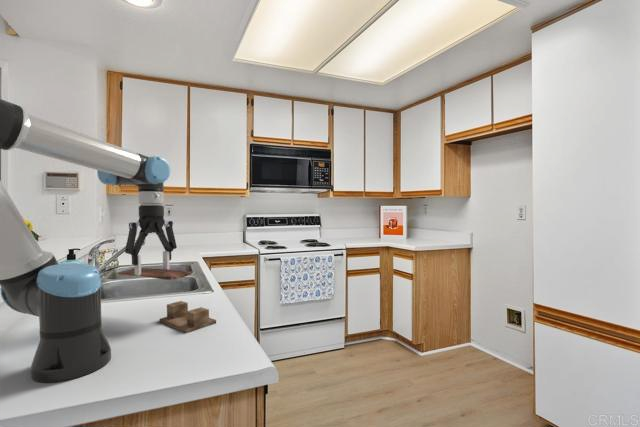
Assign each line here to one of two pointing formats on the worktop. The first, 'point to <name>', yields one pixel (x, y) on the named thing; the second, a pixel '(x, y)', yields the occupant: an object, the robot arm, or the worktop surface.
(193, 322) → the walnut stand
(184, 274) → the wooden tablet
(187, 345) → the worktop surface
